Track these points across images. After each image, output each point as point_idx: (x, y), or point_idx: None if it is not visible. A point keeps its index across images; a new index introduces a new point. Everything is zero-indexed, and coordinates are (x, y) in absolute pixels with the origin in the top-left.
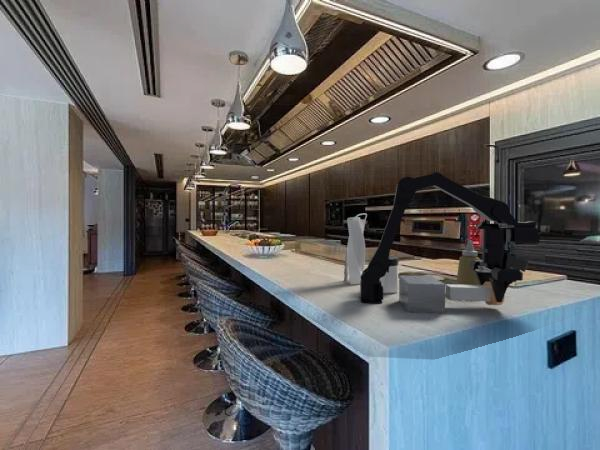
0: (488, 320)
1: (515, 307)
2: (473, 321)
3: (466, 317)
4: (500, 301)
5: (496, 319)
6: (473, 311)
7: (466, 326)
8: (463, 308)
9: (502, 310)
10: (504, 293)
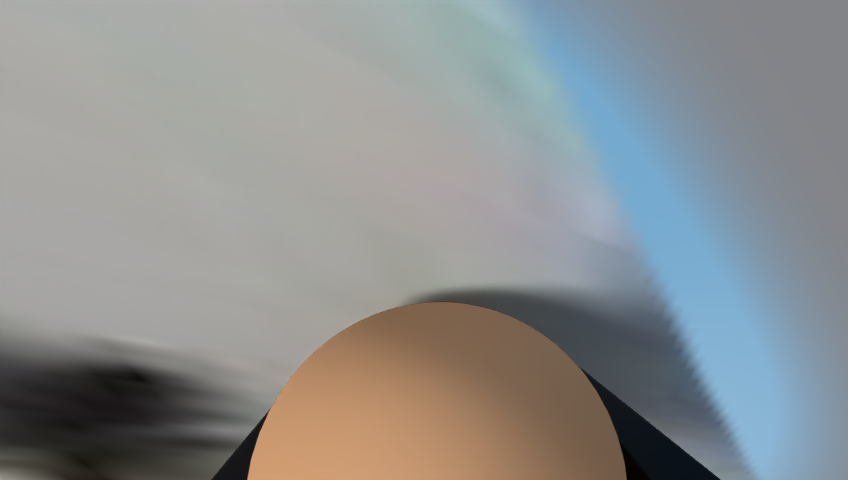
0: (680, 390)
1: (301, 84)
2: (680, 441)
3: None
4: None
5: (672, 354)
6: None
7: (733, 466)
8: None
9: (459, 260)
10: (688, 459)
